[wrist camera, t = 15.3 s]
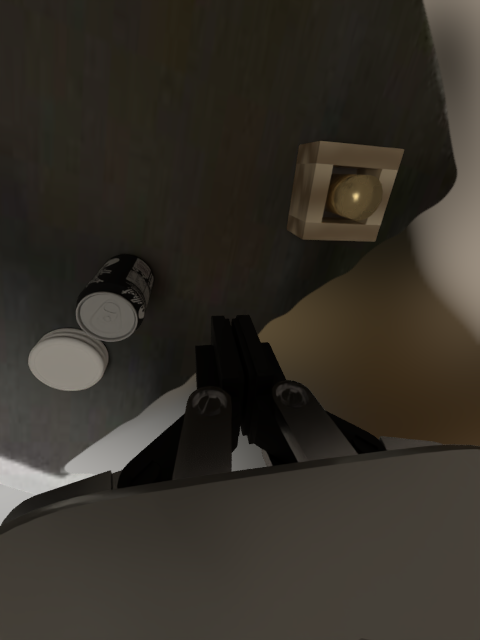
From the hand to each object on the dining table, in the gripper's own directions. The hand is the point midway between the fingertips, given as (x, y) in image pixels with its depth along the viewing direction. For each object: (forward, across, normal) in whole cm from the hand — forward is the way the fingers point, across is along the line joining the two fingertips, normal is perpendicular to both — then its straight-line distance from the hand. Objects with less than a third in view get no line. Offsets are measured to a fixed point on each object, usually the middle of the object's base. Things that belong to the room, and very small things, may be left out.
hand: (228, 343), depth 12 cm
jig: (+27, -17, -5) cm, 32 cm away
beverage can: (+27, +10, +7) cm, 30 cm away
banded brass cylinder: (+26, -17, -5) cm, 31 cm away
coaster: (+28, +20, +20) cm, 40 cm away
